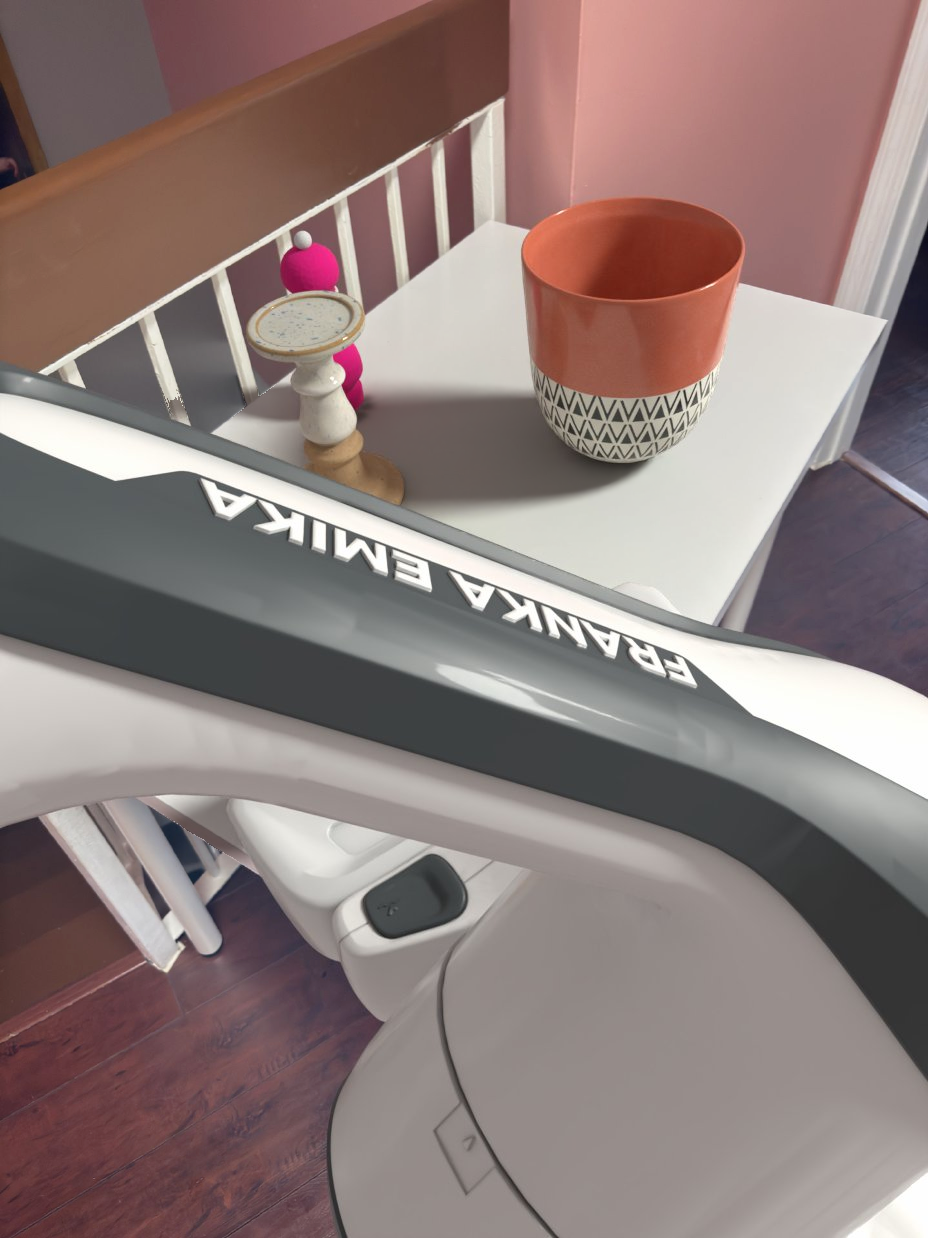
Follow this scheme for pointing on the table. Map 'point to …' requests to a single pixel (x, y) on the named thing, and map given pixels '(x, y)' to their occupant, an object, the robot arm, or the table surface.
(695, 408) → the planter
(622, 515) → the table surface
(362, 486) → the candle holder
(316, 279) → the pepper mill
